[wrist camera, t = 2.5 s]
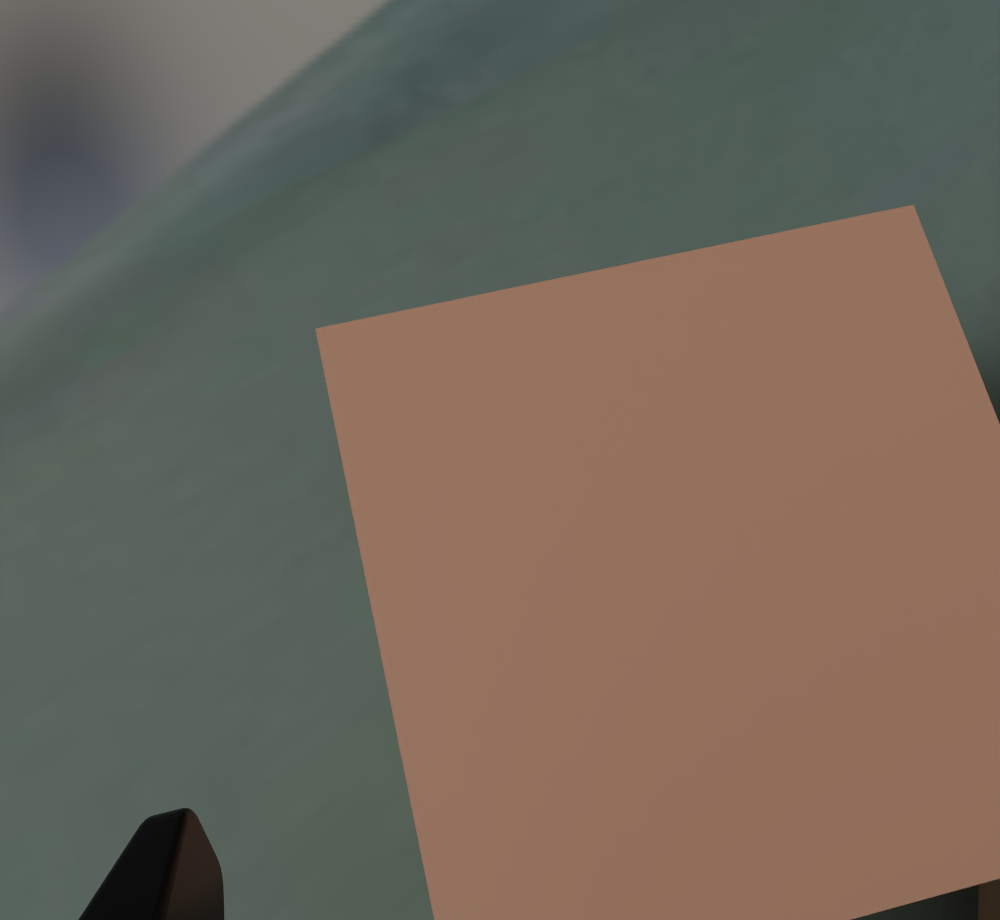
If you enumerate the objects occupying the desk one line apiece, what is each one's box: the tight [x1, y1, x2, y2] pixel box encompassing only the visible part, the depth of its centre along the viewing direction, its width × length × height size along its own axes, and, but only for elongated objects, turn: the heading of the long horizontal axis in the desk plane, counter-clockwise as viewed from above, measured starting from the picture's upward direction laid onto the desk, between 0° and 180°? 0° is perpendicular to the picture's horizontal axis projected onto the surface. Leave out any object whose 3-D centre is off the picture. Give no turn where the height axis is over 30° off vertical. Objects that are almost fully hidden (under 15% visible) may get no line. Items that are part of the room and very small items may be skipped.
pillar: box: [316, 205, 1000, 920], centre depth 12 cm, size 4×4×12 cm
